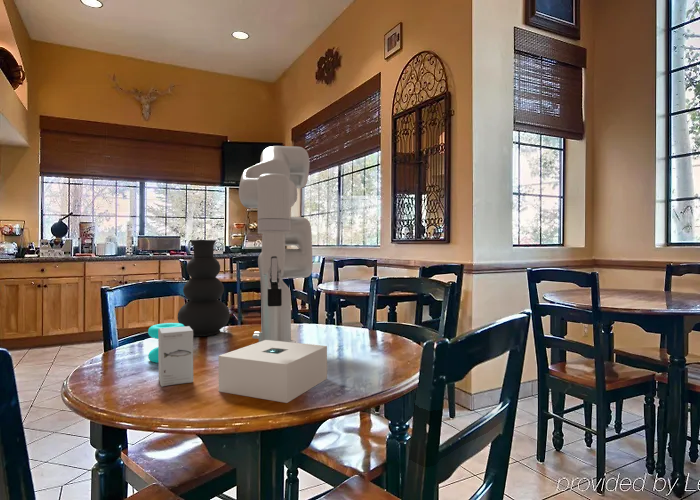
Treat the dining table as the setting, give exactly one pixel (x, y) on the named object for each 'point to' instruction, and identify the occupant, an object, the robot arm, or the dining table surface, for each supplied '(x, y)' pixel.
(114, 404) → the dining table surface
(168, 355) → the supplement box
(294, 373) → the block
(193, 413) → the dining table surface
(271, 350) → the peg
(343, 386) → the dining table surface
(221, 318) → the vase
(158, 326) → the donuts
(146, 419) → the dining table surface
